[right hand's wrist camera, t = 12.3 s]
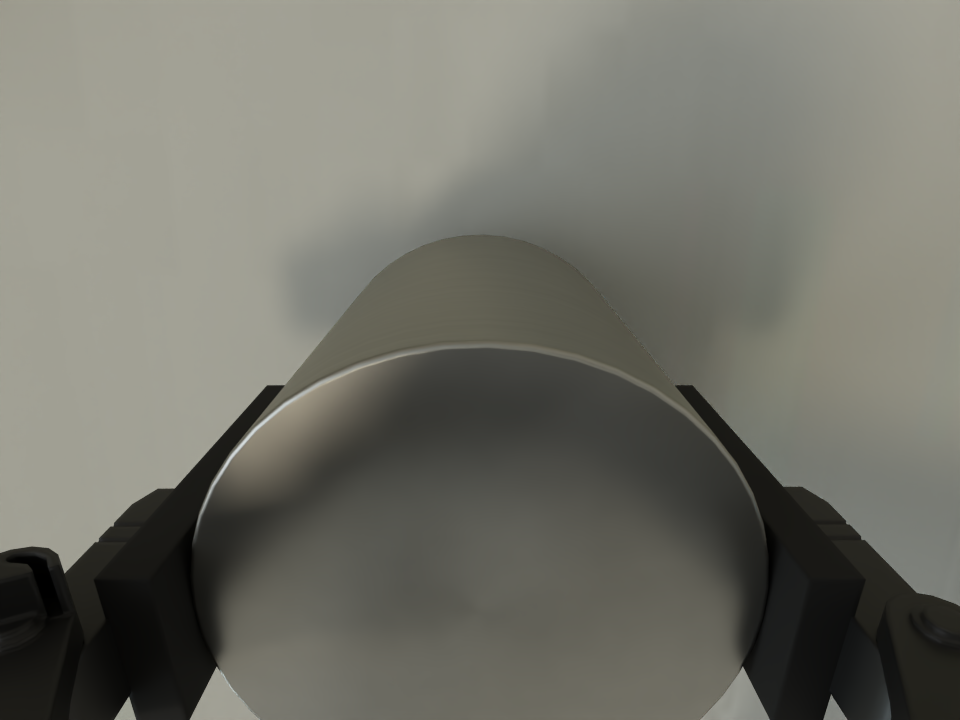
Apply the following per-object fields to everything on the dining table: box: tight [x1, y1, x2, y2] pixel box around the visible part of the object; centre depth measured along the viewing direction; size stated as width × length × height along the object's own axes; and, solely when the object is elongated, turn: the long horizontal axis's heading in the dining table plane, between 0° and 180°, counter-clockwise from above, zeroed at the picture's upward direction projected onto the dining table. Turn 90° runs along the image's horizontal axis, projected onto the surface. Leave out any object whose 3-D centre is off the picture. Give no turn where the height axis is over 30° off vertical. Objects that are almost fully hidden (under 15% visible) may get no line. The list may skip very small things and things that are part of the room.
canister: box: [190, 235, 769, 720], centre depth 13 cm, size 9×9×9 cm
